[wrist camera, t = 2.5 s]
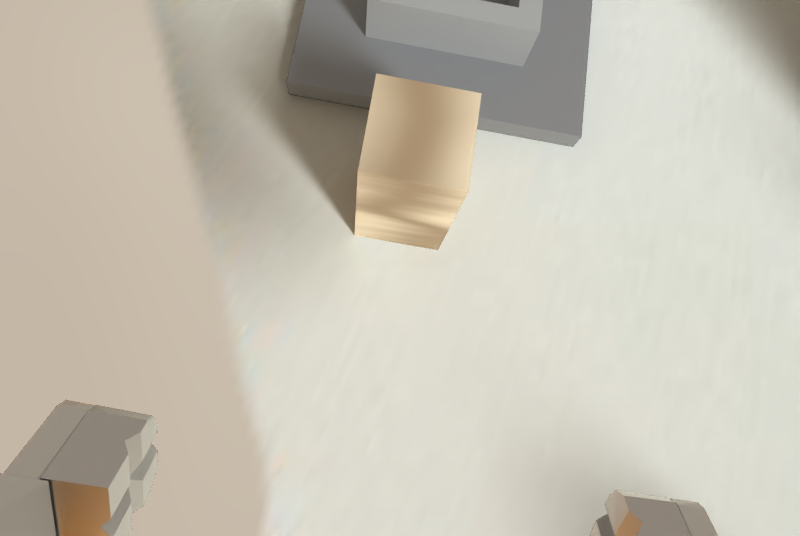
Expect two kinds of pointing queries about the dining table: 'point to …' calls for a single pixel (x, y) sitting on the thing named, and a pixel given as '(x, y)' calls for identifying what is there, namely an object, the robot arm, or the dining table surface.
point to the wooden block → (415, 161)
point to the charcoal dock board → (454, 56)
